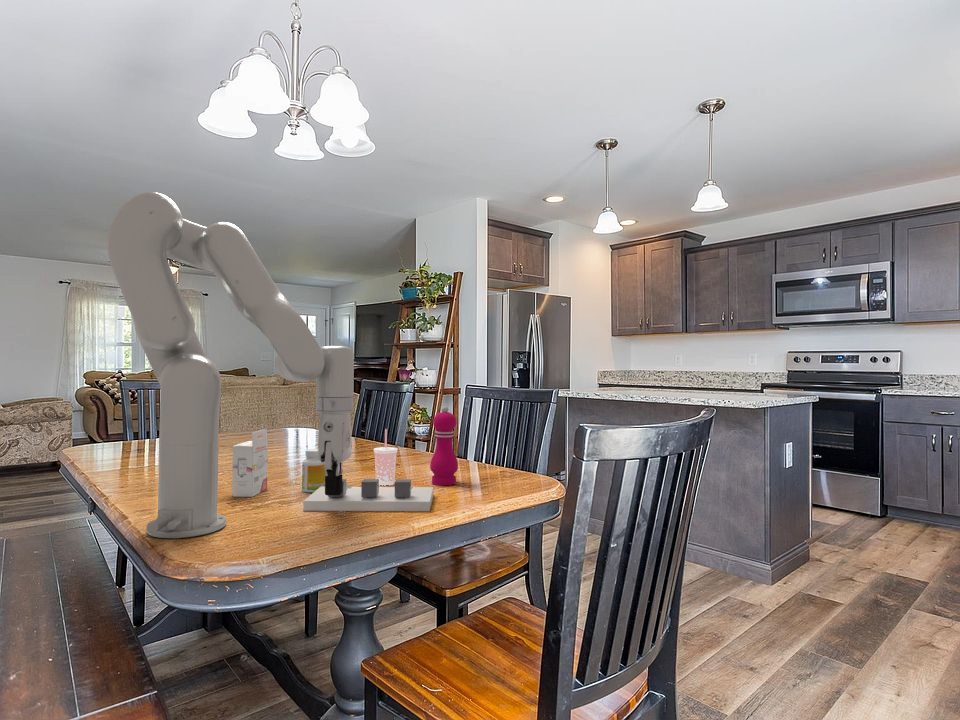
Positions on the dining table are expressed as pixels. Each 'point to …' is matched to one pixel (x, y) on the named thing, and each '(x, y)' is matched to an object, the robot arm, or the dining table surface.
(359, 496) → the switch panel
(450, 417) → the pepper mill
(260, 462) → the ink cartridge box
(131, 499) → the dining table surface
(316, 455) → the supplement bottle
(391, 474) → the beverage cup
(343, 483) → the dark grey cube
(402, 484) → the dark gray cube
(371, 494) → the dark grey cube
